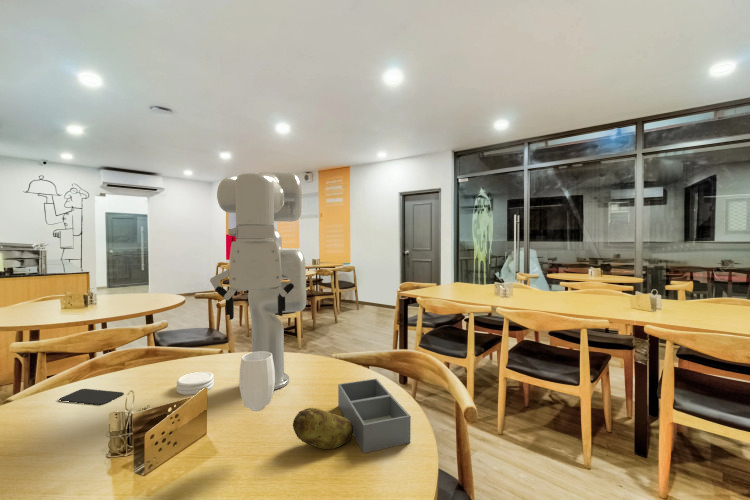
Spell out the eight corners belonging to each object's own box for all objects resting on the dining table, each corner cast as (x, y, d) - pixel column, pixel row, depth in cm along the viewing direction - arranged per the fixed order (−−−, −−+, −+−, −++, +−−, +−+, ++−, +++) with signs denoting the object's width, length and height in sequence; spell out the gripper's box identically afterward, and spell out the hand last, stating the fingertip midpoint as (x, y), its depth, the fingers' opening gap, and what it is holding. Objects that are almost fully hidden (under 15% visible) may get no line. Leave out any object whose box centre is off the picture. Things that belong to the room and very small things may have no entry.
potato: (350, 457, 73) (350, 419, 73) (289, 455, 74) (289, 418, 73) (354, 434, 81) (354, 401, 81) (299, 433, 82) (299, 399, 82)
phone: (102, 404, 95) (56, 399, 98) (102, 407, 95) (56, 402, 98) (125, 392, 103) (82, 388, 105) (125, 395, 103) (82, 391, 105)
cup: (262, 438, 80) (260, 348, 79) (283, 449, 76) (282, 354, 75) (233, 454, 74) (231, 357, 73) (254, 467, 70) (252, 364, 69)
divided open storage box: (338, 405, 95) (338, 384, 95) (376, 399, 99) (376, 378, 99) (363, 452, 75) (363, 425, 74) (410, 442, 78) (410, 416, 78)
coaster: (215, 380, 113) (215, 369, 113) (211, 393, 104) (211, 381, 103) (180, 384, 110) (180, 373, 110) (173, 398, 100) (173, 385, 100)
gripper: (207, 234, 66) (209, 324, 67) (300, 234, 72) (300, 317, 73) (211, 234, 74) (212, 316, 74) (295, 235, 79) (296, 310, 80)
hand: (256, 316), depth 73 cm, fingers open, 9 cm apart
